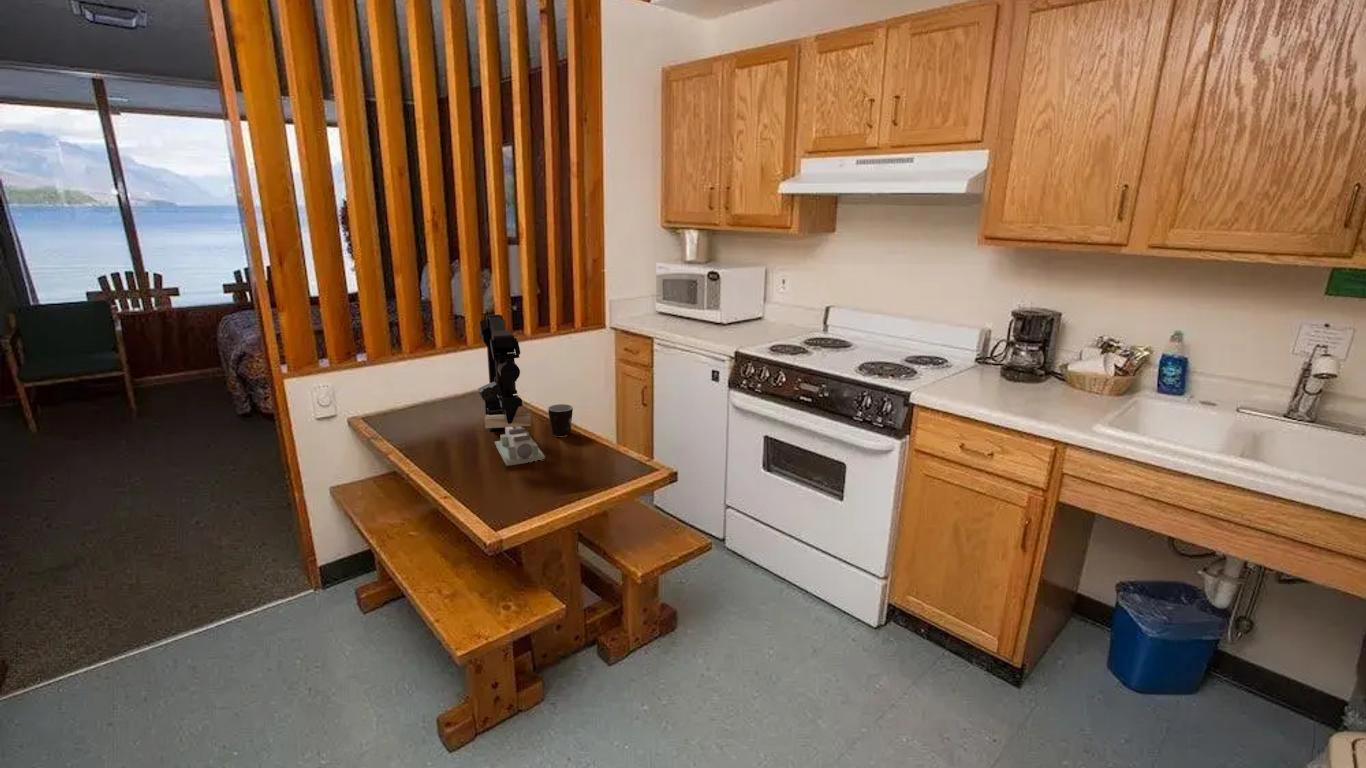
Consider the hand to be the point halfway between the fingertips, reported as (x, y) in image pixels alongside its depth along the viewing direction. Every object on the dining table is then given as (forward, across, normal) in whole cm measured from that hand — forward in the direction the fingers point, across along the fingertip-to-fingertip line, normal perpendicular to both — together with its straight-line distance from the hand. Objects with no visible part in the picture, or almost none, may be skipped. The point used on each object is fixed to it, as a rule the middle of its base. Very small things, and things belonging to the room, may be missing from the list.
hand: (508, 421), depth 195 cm
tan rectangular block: (+1, 0, 0) cm, 1 cm away
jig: (+12, -1, +3) cm, 12 cm away
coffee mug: (+12, -12, +19) cm, 25 cm away
